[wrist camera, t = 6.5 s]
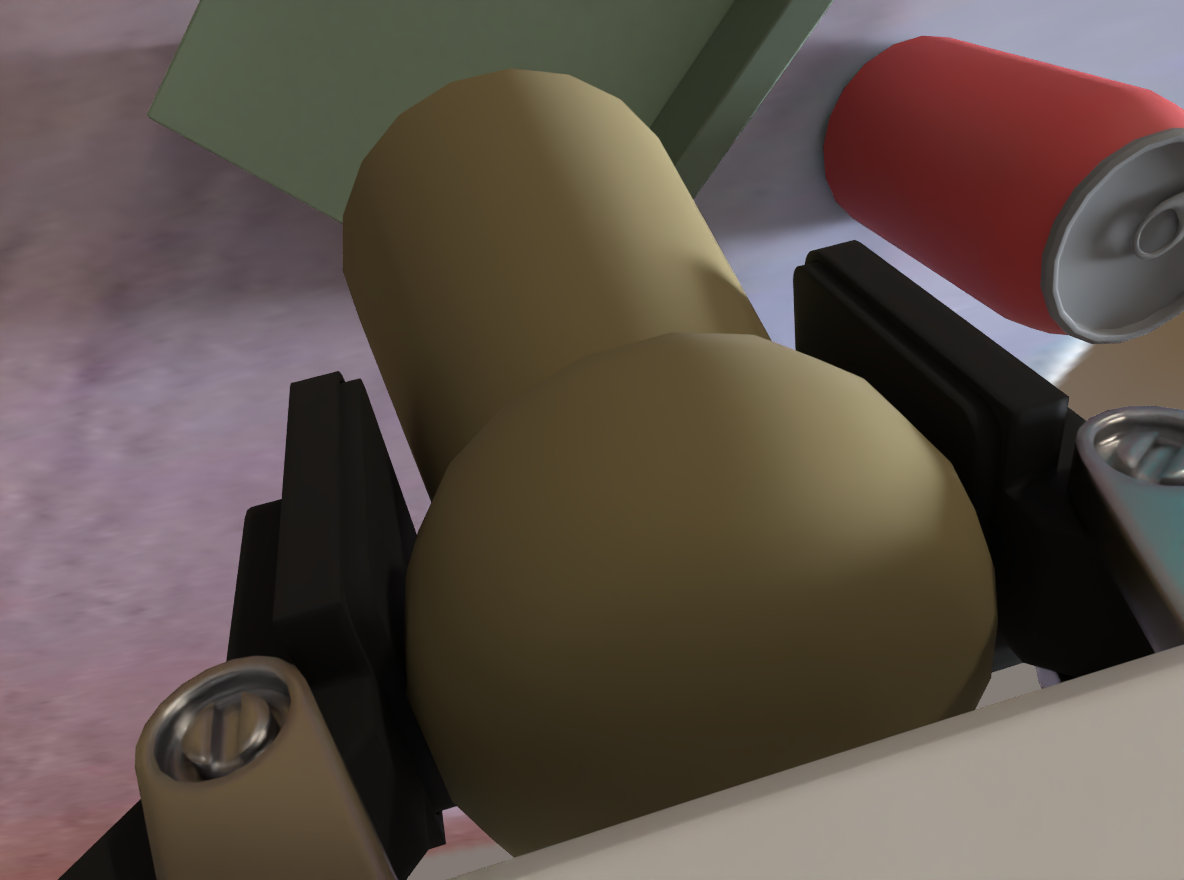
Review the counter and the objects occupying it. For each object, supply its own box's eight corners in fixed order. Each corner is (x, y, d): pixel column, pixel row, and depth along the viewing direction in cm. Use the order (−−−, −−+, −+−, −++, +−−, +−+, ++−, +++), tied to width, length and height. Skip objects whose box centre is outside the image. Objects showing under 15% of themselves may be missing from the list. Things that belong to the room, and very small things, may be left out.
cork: (315, 378, 16) (295, 1036, 7) (376, 19, 13) (466, 361, 4) (626, 423, 18) (912, 976, 9) (735, 122, 16) (1292, 495, 7)
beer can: (1012, 136, 34) (1295, 245, 24) (869, 257, 35) (1083, 408, 25) (936, -13, 30) (1231, 42, 20) (781, 127, 32) (988, 243, 22)
